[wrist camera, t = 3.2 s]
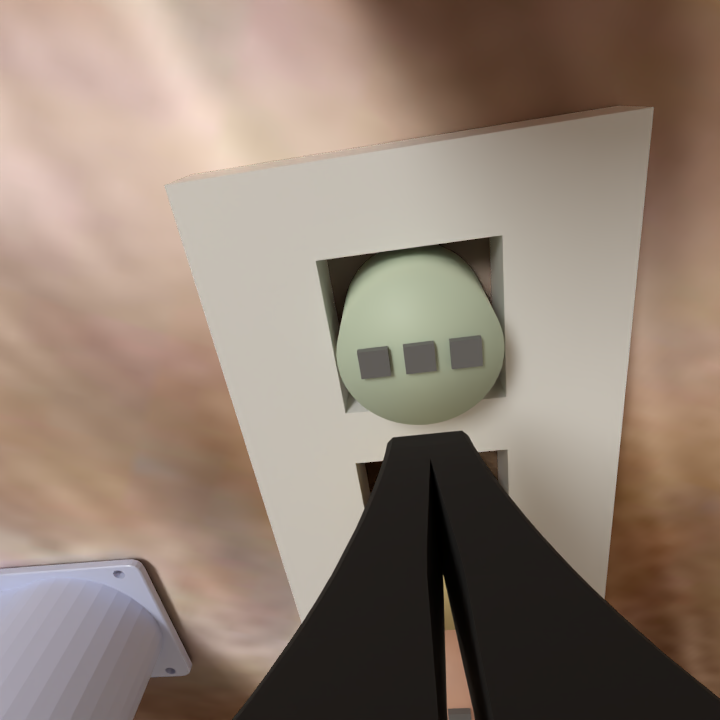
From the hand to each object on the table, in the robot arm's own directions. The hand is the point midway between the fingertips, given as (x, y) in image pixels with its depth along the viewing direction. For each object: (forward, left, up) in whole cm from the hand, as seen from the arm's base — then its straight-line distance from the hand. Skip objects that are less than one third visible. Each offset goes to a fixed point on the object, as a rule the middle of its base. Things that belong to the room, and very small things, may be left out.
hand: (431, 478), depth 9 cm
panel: (0, -7, -8) cm, 11 cm away
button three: (0, 0, -8) cm, 8 cm away
